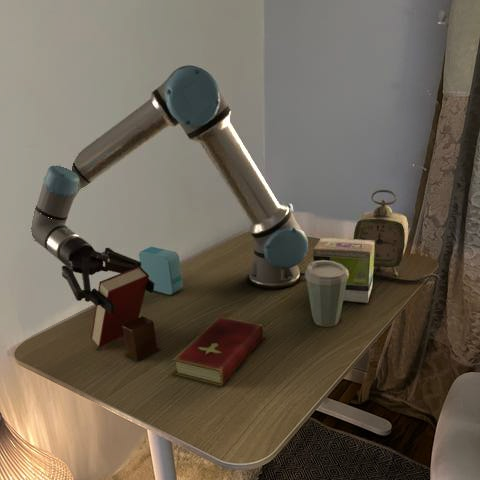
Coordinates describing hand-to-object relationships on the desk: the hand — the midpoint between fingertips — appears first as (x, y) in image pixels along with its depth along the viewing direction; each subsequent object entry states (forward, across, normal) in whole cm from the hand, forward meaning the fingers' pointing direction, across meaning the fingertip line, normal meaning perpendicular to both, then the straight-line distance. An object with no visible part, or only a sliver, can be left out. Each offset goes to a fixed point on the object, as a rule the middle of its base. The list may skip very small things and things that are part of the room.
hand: (133, 298), depth 117 cm
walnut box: (+6, +1, -13) cm, 14 cm away
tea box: (+29, -52, -6) cm, 60 cm away
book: (-3, 0, -6) cm, 7 cm away
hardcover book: (+21, -8, -7) cm, 24 cm away
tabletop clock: (+31, -71, -5) cm, 78 cm away
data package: (-15, -28, -22) cm, 38 cm away
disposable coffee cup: (+33, -36, -4) cm, 48 cm away
